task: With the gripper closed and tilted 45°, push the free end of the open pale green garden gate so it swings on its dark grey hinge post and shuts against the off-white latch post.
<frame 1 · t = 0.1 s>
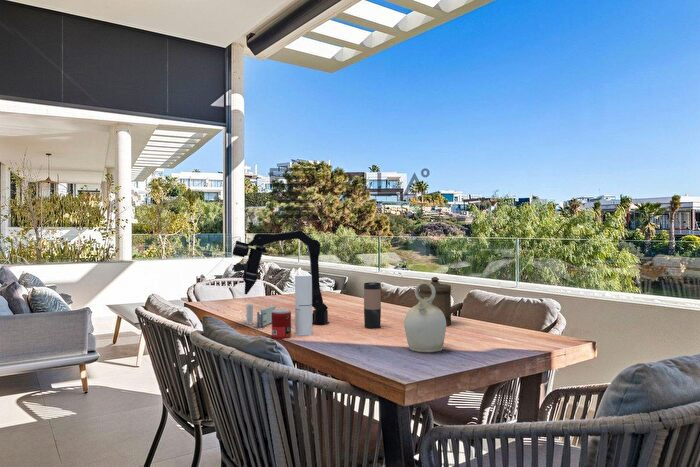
hand: (245, 293, 234), 15 cm above the table, tool pointing down, fingers open, 9 cm apart
cylindrical container: (303, 334, 216), on the table
jug: (425, 349, 188), on the table
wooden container: (434, 324, 238), on the table
hinge post: (260, 327, 231), on the table
gate: (268, 315, 239), point 4 cm above the table, hinge at -40.0°
latch post: (249, 323, 241), on the table
canned food: (281, 337, 211), on the table
travel mug: (372, 327, 230), on the table
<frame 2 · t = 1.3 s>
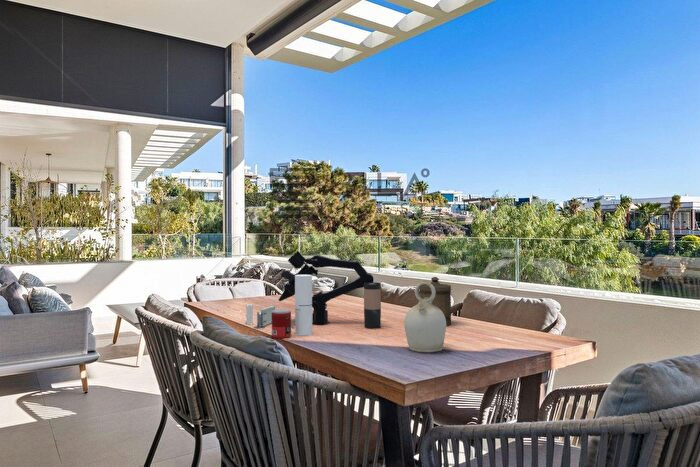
hand: (280, 299, 240), 11 cm above the table, tool tilted 45°, fingers open, 7 cm apart
nothing on the table moved.
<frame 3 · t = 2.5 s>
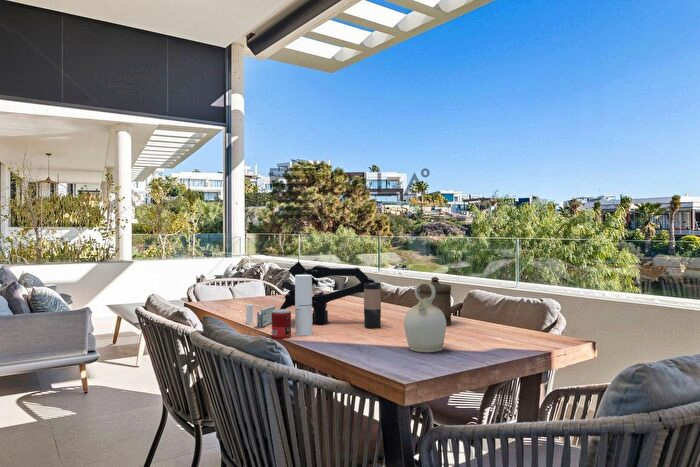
hand: (280, 310, 241), 7 cm above the table, tool tilted 45°, fingers closed
nothing on the table moved.
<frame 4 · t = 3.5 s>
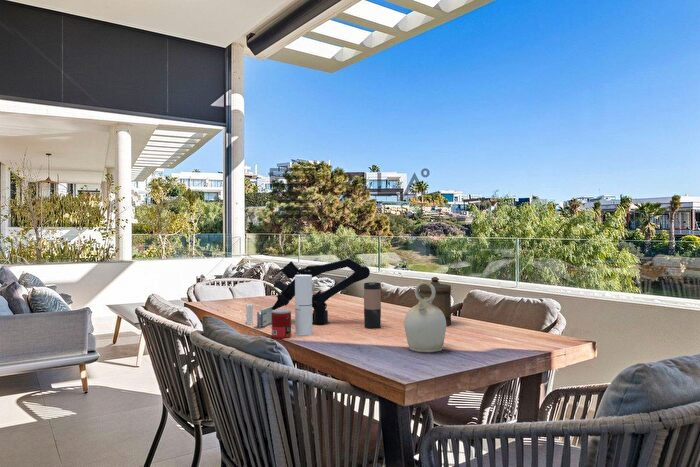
hand: (272, 309, 241), 7 cm above the table, tool tilted 45°, fingers closed
gate: (268, 315, 239), point 4 cm above the table, hinge at -39.2°, touching gripper
everything else where it was.
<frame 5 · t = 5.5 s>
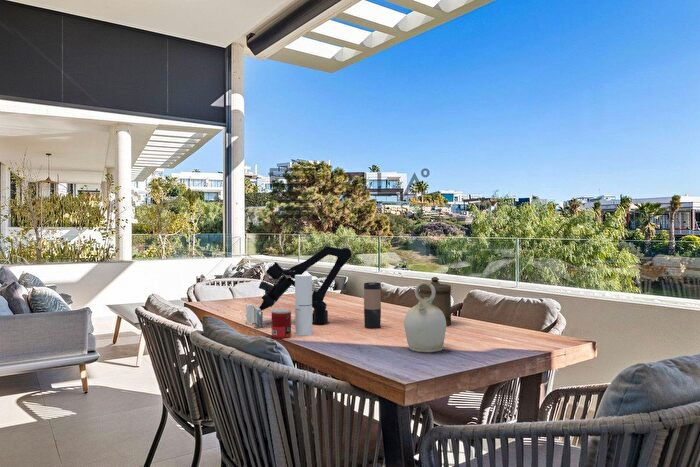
hand: (258, 310, 240), 6 cm above the table, tool tilted 45°, fingers closed
gate: (256, 315, 239), point 4 cm above the table, hinge at -0.3°, touching gripper
everything else where it was.
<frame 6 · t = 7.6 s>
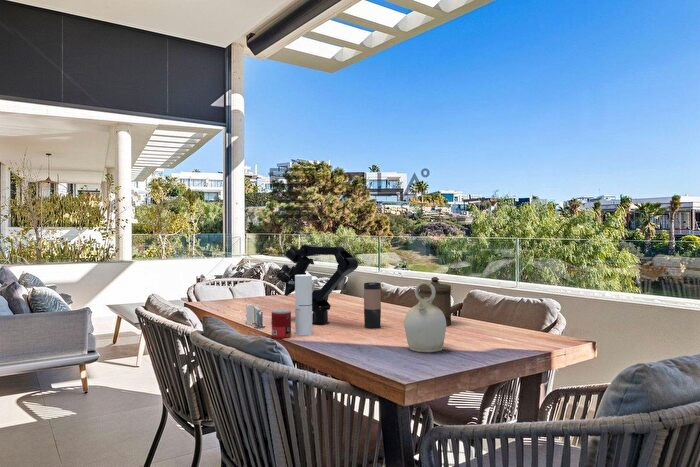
hand: (285, 295, 249), 12 cm above the table, tool tilted 30°, fingers closed
gate: (256, 315, 239), point 4 cm above the table, hinge at -0.3°
everything else where it was.
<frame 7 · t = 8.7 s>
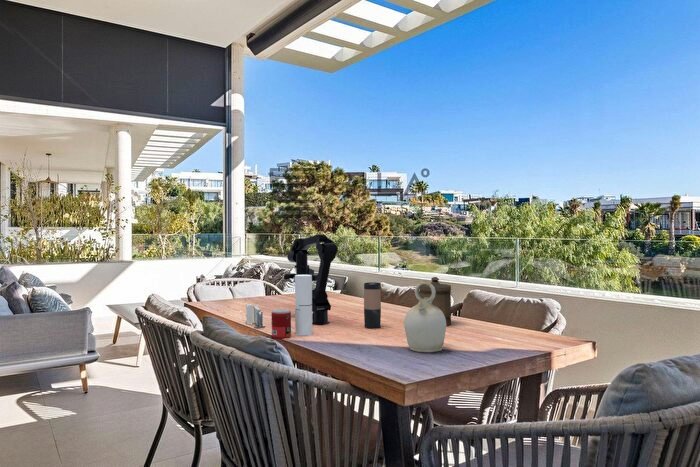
hand: (301, 294, 255), 12 cm above the table, tool pointing down, fingers closed
nothing on the table moved.
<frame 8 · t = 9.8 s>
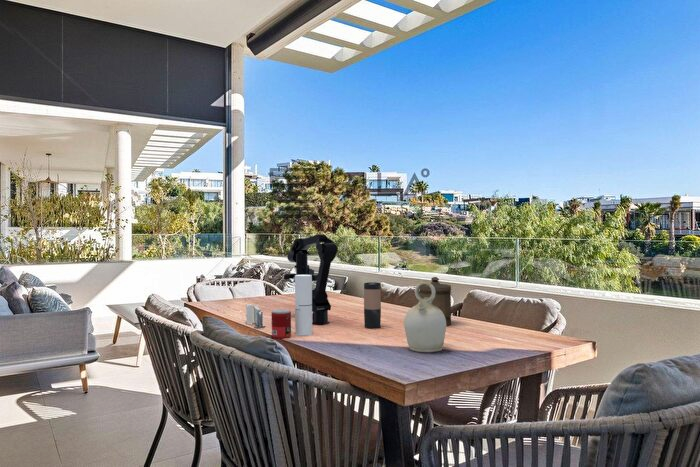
hand: (301, 294, 255), 12 cm above the table, tool pointing down, fingers closed
nothing on the table moved.
at the end: gate at +0° (first picture: -40°); the gripper is holding nothing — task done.
